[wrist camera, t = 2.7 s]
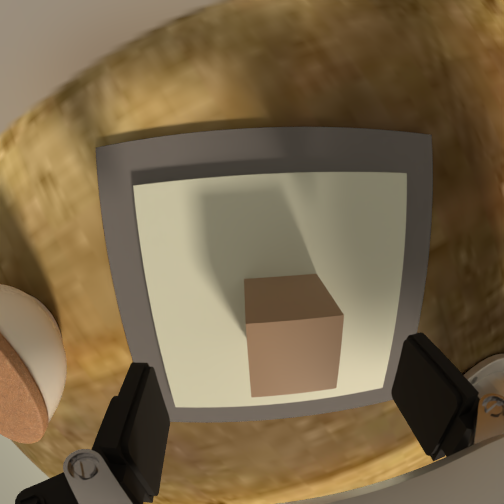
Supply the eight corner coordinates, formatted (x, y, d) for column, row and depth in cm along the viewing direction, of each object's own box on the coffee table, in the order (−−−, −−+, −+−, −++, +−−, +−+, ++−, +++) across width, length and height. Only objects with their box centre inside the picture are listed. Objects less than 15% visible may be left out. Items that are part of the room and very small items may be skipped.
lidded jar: (-26, 274, 17) (-99, 319, 8) (57, 251, 17) (-39, 310, 8) (21, 380, 20) (-28, 443, 11) (109, 383, 20) (64, 474, 11)
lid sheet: (400, 172, 16) (460, 180, 11) (378, 381, 20) (408, 433, 15) (137, 184, 16) (90, 195, 10) (177, 399, 20) (163, 460, 14)
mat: (426, 135, 16) (431, 134, 16) (397, 393, 22) (400, 397, 21) (99, 148, 16) (95, 147, 15) (154, 415, 21) (153, 420, 21)
